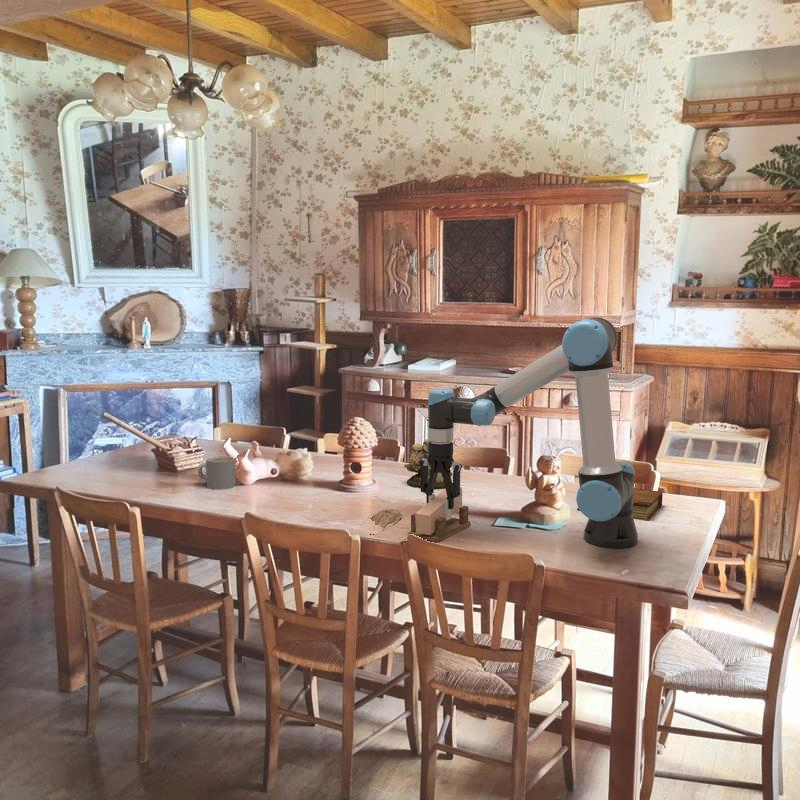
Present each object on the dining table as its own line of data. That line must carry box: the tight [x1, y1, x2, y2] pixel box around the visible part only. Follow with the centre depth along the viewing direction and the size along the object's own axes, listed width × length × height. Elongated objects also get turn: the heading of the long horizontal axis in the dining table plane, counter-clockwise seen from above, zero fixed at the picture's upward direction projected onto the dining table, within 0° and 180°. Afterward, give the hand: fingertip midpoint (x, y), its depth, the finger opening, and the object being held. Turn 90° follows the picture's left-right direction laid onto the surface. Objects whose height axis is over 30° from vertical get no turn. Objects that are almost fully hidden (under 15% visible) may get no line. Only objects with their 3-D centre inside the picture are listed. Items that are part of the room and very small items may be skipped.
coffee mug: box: [197, 455, 236, 490], centre depth 302 cm, size 13×10×10 cm
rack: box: [407, 505, 471, 543], centre depth 251 cm, size 10×20×6 cm, turn 147°
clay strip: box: [414, 486, 463, 535], centre depth 250 cm, size 4×24×6 cm, turn 153°
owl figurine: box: [403, 438, 453, 490], centre depth 302 cm, size 18×12×17 cm, turn 75°
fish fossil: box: [368, 508, 402, 529], centre depth 259 cm, size 26×10×1 cm, turn 169°
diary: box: [576, 487, 664, 522], centre depth 274 cm, size 23×19×6 cm
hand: (439, 517), depth 250 cm, fingers closed on clay strip, 5 cm apart
